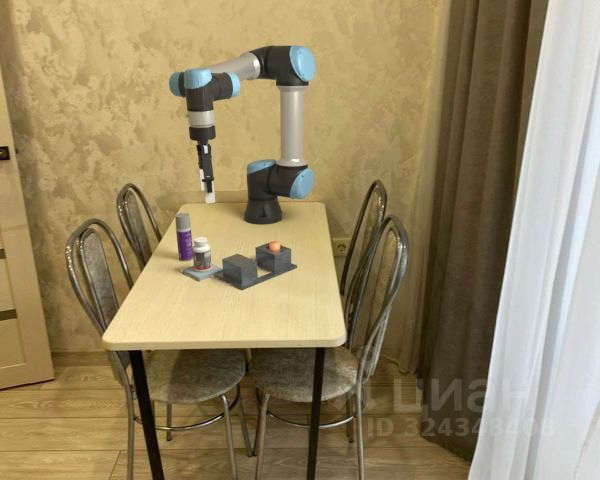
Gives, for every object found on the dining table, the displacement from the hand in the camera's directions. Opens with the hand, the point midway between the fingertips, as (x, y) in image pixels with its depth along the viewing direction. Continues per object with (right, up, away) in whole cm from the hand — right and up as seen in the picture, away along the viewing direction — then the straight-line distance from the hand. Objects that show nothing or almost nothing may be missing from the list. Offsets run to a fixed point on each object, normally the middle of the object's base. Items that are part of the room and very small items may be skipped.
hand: (208, 196), depth 164 cm
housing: (+15, -23, +3) cm, 28 cm away
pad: (-2, -23, +4) cm, 24 cm away
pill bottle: (-2, -22, +4) cm, 23 cm away
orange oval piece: (+20, -19, +7) cm, 28 cm away
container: (-9, -20, +14) cm, 26 cm away
